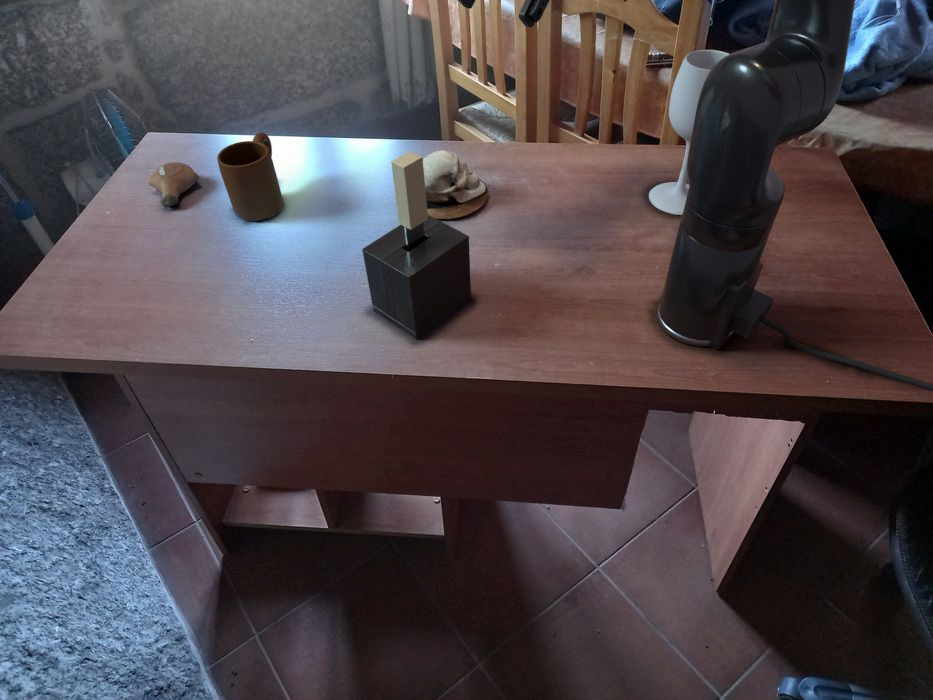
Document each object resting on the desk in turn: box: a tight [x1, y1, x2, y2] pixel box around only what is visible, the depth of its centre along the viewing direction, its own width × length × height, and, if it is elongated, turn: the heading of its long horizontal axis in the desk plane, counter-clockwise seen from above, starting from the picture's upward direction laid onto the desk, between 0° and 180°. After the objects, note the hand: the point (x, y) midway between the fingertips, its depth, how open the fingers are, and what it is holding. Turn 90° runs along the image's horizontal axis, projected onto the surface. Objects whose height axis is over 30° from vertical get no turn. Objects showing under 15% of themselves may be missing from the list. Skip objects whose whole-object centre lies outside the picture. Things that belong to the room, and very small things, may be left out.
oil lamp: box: [147, 161, 200, 208], centre depth 103 cm, size 9×4×8 cm
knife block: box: [361, 215, 472, 340], centre depth 81 cm, size 8×10×10 cm
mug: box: [216, 131, 284, 222], centre depth 99 cm, size 12×8×9 cm, turn 171°
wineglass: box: [648, 49, 730, 216], centre depth 92 cm, size 9×9×21 cm
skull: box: [423, 149, 489, 220], centre depth 100 cm, size 12×10×10 cm
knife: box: [390, 151, 428, 252], centre depth 77 cm, size 2×3×20 cm
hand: (493, 13), depth 69 cm, fingers open, 8 cm apart
